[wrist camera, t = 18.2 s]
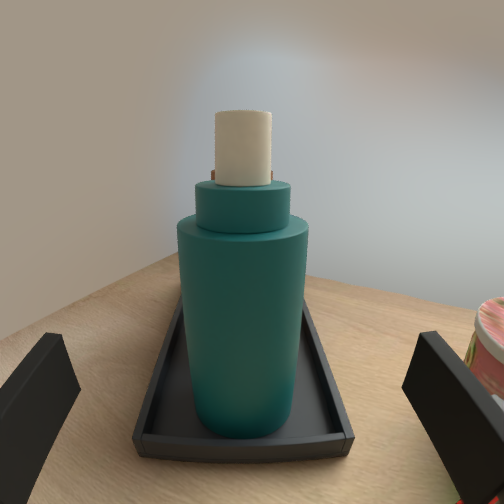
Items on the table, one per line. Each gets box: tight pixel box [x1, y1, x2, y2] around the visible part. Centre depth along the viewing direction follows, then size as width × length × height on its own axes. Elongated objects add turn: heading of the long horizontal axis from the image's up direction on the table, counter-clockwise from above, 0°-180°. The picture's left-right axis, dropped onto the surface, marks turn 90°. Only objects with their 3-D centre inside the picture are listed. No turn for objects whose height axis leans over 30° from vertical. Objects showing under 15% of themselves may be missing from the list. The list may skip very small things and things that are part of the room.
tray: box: [132, 293, 355, 463], centre depth 29 cm, size 13×28×2 cm, turn 2°
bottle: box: [177, 110, 309, 439], centre depth 18 cm, size 7×7×19 cm
